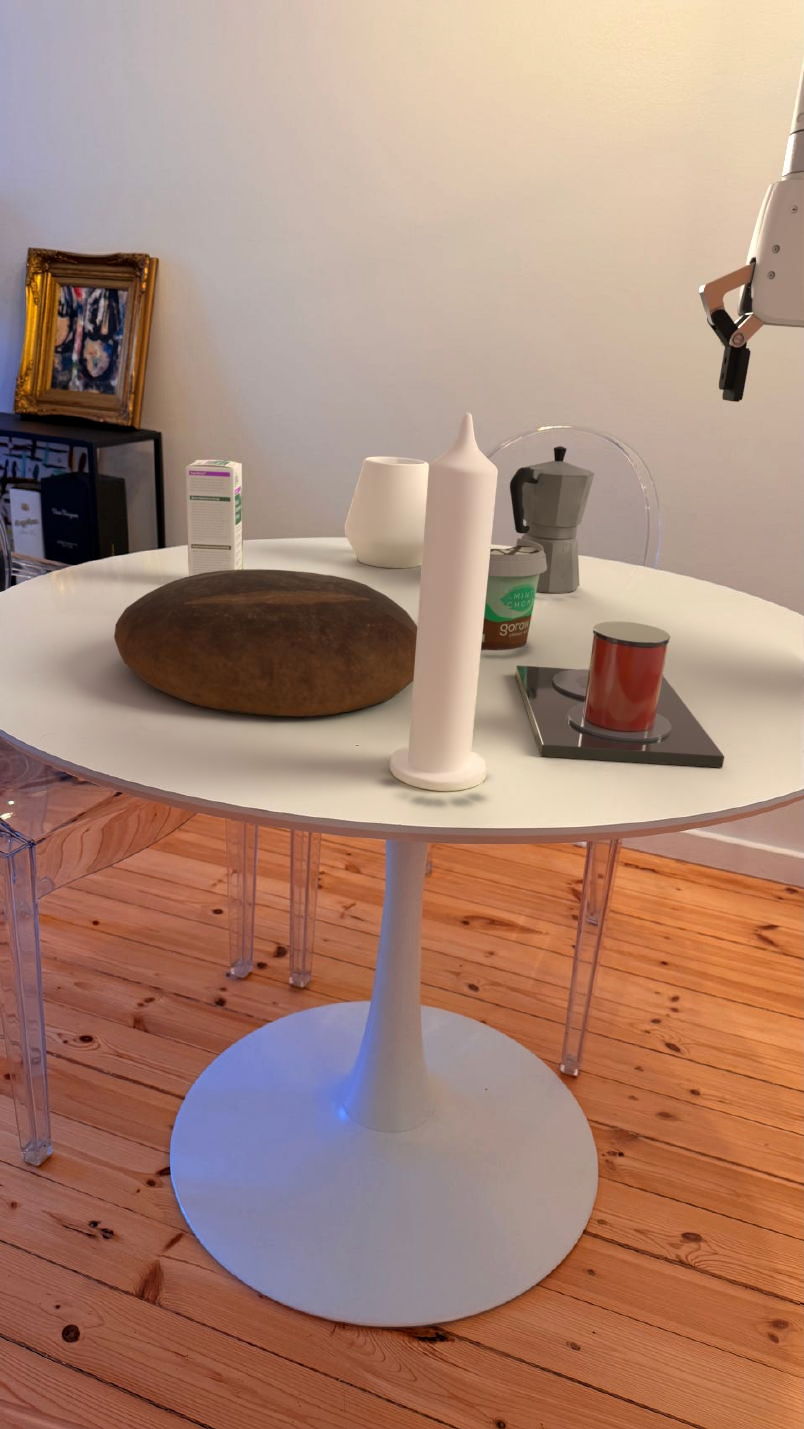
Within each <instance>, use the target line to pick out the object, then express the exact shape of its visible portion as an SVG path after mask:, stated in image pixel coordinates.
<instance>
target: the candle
mask: <svg viewBox="0 0 804 1429" xmlns="http://www.w3.org/2000/svg"><path fill="white" fill-rule="evenodd" d="M461 419H462V420H461V422H460V426H459V430H458V433H457V436H456V438H455V439H454V442H453V444H452V445H451V447H450V448H448V449H447V450H445V451H444V452H443V453H441V455H439V456H438V457H436V458H435V459H434V460H432V461H431V462H430V463H429V464H428V465H429V471H428V485H427V499H426V513H425V527H424V541H423V555H422V564H421V570H420V571H421V572H420V586H419V599H418V610H417V612H418V614H417V625H416V626H417V639H416V653H415V667H414V681H412V697H411V712H410V722H409V723H410V725H409V738H408V739H409V740H408V745H406V746H404V747H401V748H399V749H397V750H395V751H394V753H392V754H391V756H390V759H389V770H390V773H391V774H392V775H393V776H394V777H395V778H396V779H398V780H399V781H400V782H403V783H404V784H407V785H409V786H412V787H414V788H415V787H416V788H418V789H423V790H429V791H437V792H438V791H439V792H451V791H452V792H455V791H463V790H467V789H472V788H474V787H476V786H478V785H481V783H483V782H484V781H485V780H486V778H487V775H488V764H487V762H486V760H485V759H484V758H483V757H482V756H481V755H480V754H478V753H476V752H475V751H472V749H473V748H472V747H473V736H474V726H475V717H476V705H477V694H478V684H479V672H480V664H481V652H482V649H481V643H482V633H483V623H484V612H485V602H486V591H487V581H488V570H489V560H490V549H492V540H493V539H492V538H493V537H492V536H493V527H494V526H493V525H494V516H495V508H496V507H495V505H496V495H497V484H498V476H499V475H498V474H499V470H498V468H497V466H496V465H495V464H494V463H493V462H492V461H490V459H489V458H488V457H486V455H485V454H484V453H483V452H482V451H481V450H480V449H479V446H478V444H477V441H476V436H475V430H474V423H473V422H474V420H473V415H472V413H470V412H466V413H464V414H463V416H462V418H461Z"/></svg>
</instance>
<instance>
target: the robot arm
mask: <svg viewBox="0 0 804 1429" xmlns="http://www.w3.org/2000/svg"><path fill="white" fill-rule="evenodd" d="M746 257H747V258H746V260H745V265H743V266H741V267H739V268H736V269H734V270H732V271H730V272H728V273H726V274H725V273H724V274H723V275H721V276H719V277H716V278H714V279H711V280H710V281H708V282H705V283H703V284H702V285H701V286H700V287H699V292H698V293H699V297H700V300H701V304H702V307H703V309H704V312H705V314H706V321H707V324H708V325H709V327H710V328H711V329H712V331H713V332H714V333H715V335H716V336H717V338H718V340H719V341H720V344H721V346H722V347H723V348H724V349H723V356H722V363H721V369H720V374H719V379H718V389H719V390H720V391H722V395H721V396H722V400H723V401H727V402H728V401H729V402H735V403H740V401H743V398H744V393H745V387H746V382H747V376H748V369H749V363H750V359H751V352H752V351H751V350H750V348H749V347H748V348H747V346H748V341H749V340H750V339H751V338H752V337H753V336H754V335H755V334H756V333H757V332H758V331H759V330H760V329H761V328H762V327H764V326H774V327H786V328H787V327H789V328H801V329H803V328H804V55H803V56H802V62H801V68H800V74H799V80H798V85H797V91H796V96H795V103H794V108H793V114H792V119H791V125H790V132H789V137H788V142H787V147H786V152H785V158H784V165H783V171H782V176H781V180H779V181H776V182H772V183H771V184H769V185H768V188H767V190H766V193H765V195H764V198H763V201H762V204H761V207H760V210H759V214H758V216H757V219H756V223H755V227H754V229H753V233H752V238H751V241H750V245H749V248H748V253H747V256H746ZM738 288H739V292H738V297H737V304H736V311H737V315H738V317H739V318H738V319H736V320H735V321H734V320H733V318H732V317H731V316H730V314H729V313H728V312H727V311H726V307H725V303H724V297H725V295H726V294H727V293H729V292H731V291H734V290H737V289H738Z"/></svg>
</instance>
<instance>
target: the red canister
mask: <svg viewBox="0 0 804 1429" xmlns="http://www.w3.org/2000/svg"><path fill="white" fill-rule="evenodd" d="M592 633H593V638H592V643H591V644H592V645H591V652H590V659H589V667H588V669H589V673H588V681H587V688H586V695H585V702H584V710H583V716H584V718H585V719H586V720H588V721H589V722H591V723H593V724H595V725H597V726H600V727H603V728H607V729H612V730H618V731H644V730H647V729H650V728H652V727H653V726H654V724H655V719H656V713H657V707H658V701H659V695H660V689H661V683H662V677H663V676H664V669H665V664H666V658H667V652H668V646H669V643H670V641H671V635H670V634H669V632H667V631H665V630H664V629H661V628H659V627H657V626H652V625H648V624H644V623H638V622H630V621H604V622H600V623H596V624H595V625H594V626H593V629H592Z"/></svg>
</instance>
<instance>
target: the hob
mask: <svg viewBox="0 0 804 1429" xmlns="http://www.w3.org/2000/svg"><path fill="white" fill-rule="evenodd" d="M515 668H516V669H515V677H516V680H517V684H518V687H519V690H520V693H521V696H522V699H523V702H524V705H525V709H526V712H527V715H528V719H529V721H530V725H531V728H532V732H533V734H534V737H535V741H536V744H537V748H538V750H539V754H540V756H541V757H543V758H544V757H548V758H559V759H560V758H561V759H562V758H563V759H575V760H576V759H579V760H593V761H607V762H608V761H610V762H622V763H623V762H624V763H640V764H641V763H642V764H654V765H655V764H657V765H670V766H671V765H673V766H687V767H688V766H689V767H703V768H720V769H721V768H723V766H724V761H725V755H724V754H723V752H722V750H720V748H719V747H718V746H717V745H716V743H715V742H714V741H713V739H712V737H710V736H709V733H707V731H706V730H705V728H704V727H703V726H702V725H701V724H700V722H699V720H698V719H697V718H696V717H695V715H694V714H693V713H692V712H691V710H690V709H689V708H688V707H687V705H686V704H685V702H684V701H683V699H682V698H681V697H680V696H679V695H678V693H677V692H676V690H675V689H674V687H673V686H672V685H671V684H670V683H669V681H668V680H667V678H666V677H665V676H664V675H663V677H662V683H661V689H660V695H659V701H658V707H657V713H656V719H655V724H654V726H653V727H652V728H650V729H647V730H644V731H618V730H612V729H607V728H603V727H600V726H597V725H595V724H593V723H591V722H589V721H588V720H586V719H585V718H584V716H583V710H584V702H585V695H586V688H587V681H588V673H589V668H587V669H586V668H581V669H580V668H579V669H577V668H563V667H562V668H561V667H548V666H547V667H546V666H533V665H531V666H530V665H516V667H515Z"/></svg>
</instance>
